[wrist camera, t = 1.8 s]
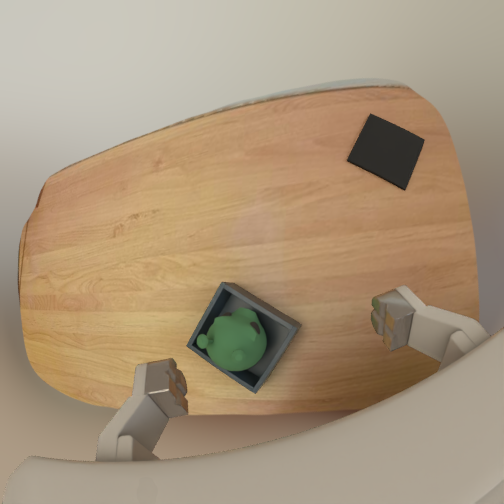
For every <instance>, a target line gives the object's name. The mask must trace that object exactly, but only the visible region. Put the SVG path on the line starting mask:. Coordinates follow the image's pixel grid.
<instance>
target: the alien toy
mask: <svg viewBox="0 0 504 504" xmlns="http://www.w3.org/2000/svg"><path fill="white" fill-rule="evenodd" d="M197 345H198V346H199V347H200V348H201V349H204V348H206V349H207V352H208V355H209V356H210V358H211V360H212V361H213V362H214V363H215V364H216V365H218V366H219V367H221V368H223V369H226V370H229V371H242V370H246V369H249V368H250V367H252V366H254V365H255V364H256V363H257V362H258V361H259V360H260V359H261V358H262V356H263V354H264V352H265V350H266V345H267V338H266V334H265V331H264V328H263V327H262V325H261V324H260V322H259V319H258V317H257V315H256V312H254V311H252V310H250V309H246V308H242V307H240V308H239V309H237V310H236V311H234V312H232V313H230V312H227V313H225V314H223V315H222V316H220V317H217V318H215V320H214V323H213V324H212V325H211V327H210V328H209V331H208V333H207V336H206V335H204V334H201V335H199V336H198V338H197Z"/></svg>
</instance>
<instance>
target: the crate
mask: <svg viewBox="0 0 504 504" xmlns="http://www.w3.org/2000/svg"><path fill="white" fill-rule="evenodd" d="M240 307H242V308H246V309H250V310H252V311H254V312H256V315H257V317H258V319H259V322H260V324H261V325H262V327H263V328H264V331H265V334H266V338H267V345H266V350H265V352H264V354H263V356H262V358H261V359H260V360H259V361H258V362H257V363H256V364H255V365H254V366H252V367H250V368H249V369H246V370H242V371H229V370H226V369H223V368H221V367H219V366H218V365H216V364H215V363H214V362H213V361H212V360H211V358H210V356H209V355H208V352H207V349H206V348H204V349H201V348H200V347H199V346H198V345H197V338H198V336H199V335H201V334H204V335H206V336H207V333H208V331H209V328H210V327H211V325H212V324H213V323H214V320H215V318H217V317H220V316H222V315H223V314H225V313H227V312H230V313H232V312H234V311H236V310H237V309H239V308H240ZM301 325H302V324H300V323H299V322H297V321H295V320H294V319H292V318H290V317H289V316H287V315H285V314H284V313H282V312H280V311H279V310H277V309H275V308H274V307H272V306H270V305H269V304H267V303H265V302H264V301H262V300H261V299H259V298H257V297H256V296H254V295H252V294H251V293H249V292H248V291H246V290H244V289H243V288H241V287H239V286H238V285H236V284H235V283H228V282H221V284H220V286H219V288H218V290H217V291H216V293H215V295H214V297H213V298H212V300H211V302H210V304H209V306H208V307H207V309H206V311H205V313H204V315H203V316H202V318H201V320H200V322H199V324H198V325H197V327H196V329H195V331H194V333H193V335H192V336H191V338H190V340H189V342H188V344H187V345H186V346H187V347H188V348H190V349H191V350H192V351H194V352H195V353H196V354H198V355H199V356H201V357H202V358H203V359H205V360H206V361H207V362H209V363H210V364H212V365H213V366H215V367H216V368H217V369H219V370H220V371H222V372H223V373H225V374H226V375H228V376H229V377H230V378H232V379H233V380H235V381H236V382H238V383H239V384H241V385H242V386H244V387H246V388H247V389H249V390H250V391H252V392H253V393H255V394H256V393H257V391H258V390H259V389H260V388H261V387H262V386H263V384H264V383H265V382H266V380H267V379H268V377H269V376H270V374H271V373H272V371H273V370H274V368H275V367H276V365H277V363H278V362H279V360H280V359H281V357H282V356H283V354H284V353H285V351H286V350H287V348H288V346H289V345H290V343H291V342H292V340H293V338H294V337H295V335H296V334H297V332H298V330H299V329H300V327H301Z"/></svg>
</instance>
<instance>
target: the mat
mask: <svg viewBox="0 0 504 504" xmlns="http://www.w3.org/2000/svg"><path fill="white" fill-rule="evenodd" d="M423 143H424V139H422V138H420V137H419V136H417V135H415V134H413V133H411V132H409V131H407V130H405V129H403V128H401V127H399V126H397V125H395V124H392V123H390V122H388V121H386V120H384V119H382V118H379V117H377V116H375V115H373V114H370V115H369V117H368V119H367V121H366V123H365V125H364V127H363V129H362V131H361V133H360V135H359V137H358V139H357V141H356V143H355V145H354V147H353V149H352V151H351V153H350V155H349V157H348V159H347V161H348V162H350V163H352V164H354V165H356V166H359V167H361V168H363V169H365V170H367V171H369V172H371V173H373V174H375V175H377V176H379V177H381V178H383V179H384V180H386V181H388V182H390V183H392V184H394V185H396V186H398V187H400V188H401V189H403V190H405V189H406V187H407V185H408V182H409V180H410V177H411V175H412V172H413V170H414V167H415V165H416V162H417V159H418V157H419V154H420V151H421V149H422V146H423Z"/></svg>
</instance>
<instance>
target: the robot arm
mask: <svg viewBox="0 0 504 504" xmlns="http://www.w3.org/2000/svg"><path fill="white" fill-rule="evenodd" d="M372 306H373V307H374V310H373V311H372V313H371V321H372V325H373V327H374V329H375V331H376V332H377V334H379V335H382V336H383V342H384V344H385V345H386V347H387V348H388V349H389V351H390V352H391V351H393V350H396V349H398V348H400V347H402V346H405V345H407V344H408V346H410V347H412V348H414V349H416V350H418V351H420V352H422V353H424V354H426V355H428V356H430V357H432V358H434V359H436V360H438V361H440V362H441V364H440V367H439V369H438V372H437V373H435V374H433V375H432V376H430V377H428V378H426V379H424V380H423V381H421V382H419V383H417V384H415V385H413V386H411V387H410V388H408V389H406V390H404V391H402V392H400V393H398V394H396V395H394V396H392V397H389V398H387V399H385V400H383V401H381V402H379V403H376V404H374V405H372V406H370V407H367V408H365V409H363V410H360V411H358V412H356V413H353V414H351V415H348V416H346V417H343V418H341V419H338V420H335V421H332V422H330V423H327V424H324V425H321V426H318V427H315V428H313V429H309V430H306V431H304V432H300V433H297V434H293V435H290V436H287V437H283V438H279V439H276V440H272V441H268V442H264V443H260V444H256V445H252V446H247V447H243V448H238V449H233V450H228V451H223V452H218V453H211V454H205V455H198V456H192V457H183V458H174V459H164V460H161V459H159V458H158V457H157V456H155V455H154V454H153V453H152V451H153V449H154V447H155V445H156V443H157V442H158V440H159V438H160V436H161V434H162V432H163V430H164V428H165V426H166V424H167V423H168V421H169V418H172V417H178V416H183V415H188V401H187V399H186V398H185V397H184V396H185V395H186V393H187V384H186V380H185V377H184V375H183V373H182V372H181V371H180V370H178V369H177V364H176V362H175V361H174V359H172V358H169V359H164V360H159V361H153V362H148V363H143V364H138V365H137V366H136V369H135V376H134V384H133V392H132V396H131V397H128V399H127V400H126V401H125V403H124V404H123V405H122V406H121V408H120V409H119V410H118V412H117V413H116V414H115V416H114V417H113V418H112V419H111V421H110V422H109V423H108V425H107V426H106V427H105V428H104V430H103V431H102V432H101V434H100V435H99V438H98V445H97V453H96V461H76V460H63V459H54V458H45V457H39V456H29V457H27V458H26V459H25V460H24V461H23V462H22V463H21V464H20V465H19V466H18V468H17V469H16V470H15V471H14V472H13V473H12V474H11V475H10V477H9V479H8V482H7V484H6V487H5V492H4V496H3V501H2V504H504V327H503V328H502V329H500V330H499V331H498V332H497V333H495V334H494V335H493V336H491V335H490V334H489V333H488V332H487V331H486V330H485V329H484V328H483V327H482V326H481V325H480V324H479V323H478V322H477V321H476V320H475V319H473V318H469V317H466V316H463V315H460V314H456V313H453V312H450V311H447V310H443V309H440V308H437V307H434V306H430V305H428V306H426V305H425V304H424V303H423V302H422V301H421V300H420V299H419V298H418V297H417V296H416V295H415V294H414V293H413V292H412V291H411V290H410V289H409V288H408V287H407V286H406V285H402V286H399V287H397V288H395V289H392V290H390V291H387V292H385V293H382V294H380V295H377V296H375V297H373V299H372Z"/></svg>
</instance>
